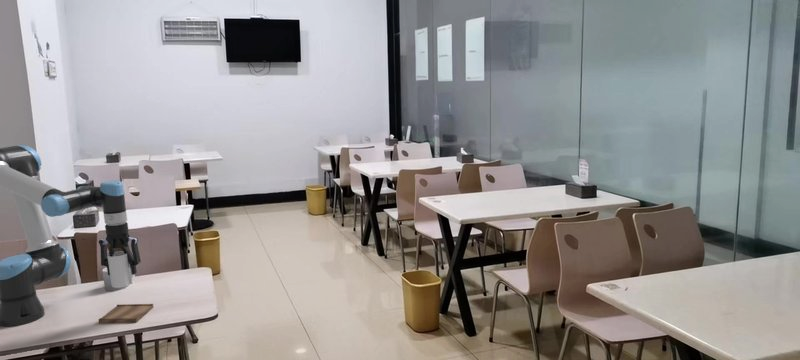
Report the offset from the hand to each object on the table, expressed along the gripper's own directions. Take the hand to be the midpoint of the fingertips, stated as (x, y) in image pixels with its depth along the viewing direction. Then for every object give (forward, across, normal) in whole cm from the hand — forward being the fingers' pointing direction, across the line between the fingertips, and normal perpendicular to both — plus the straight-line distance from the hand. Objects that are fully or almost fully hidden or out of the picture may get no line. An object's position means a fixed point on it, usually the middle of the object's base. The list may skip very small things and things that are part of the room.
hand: (123, 282), depth 218 cm
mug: (0, 0, 0) cm, 1 cm away
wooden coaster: (+13, 0, 0) cm, 13 cm away
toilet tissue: (+13, -20, +32) cm, 40 cm away
